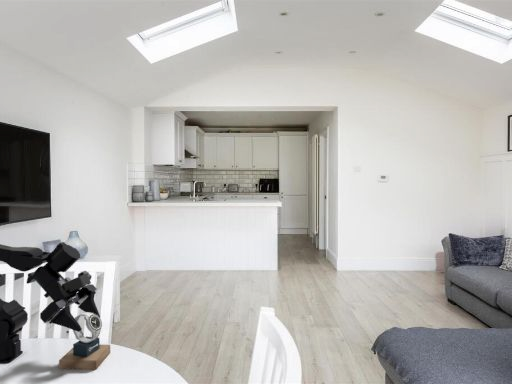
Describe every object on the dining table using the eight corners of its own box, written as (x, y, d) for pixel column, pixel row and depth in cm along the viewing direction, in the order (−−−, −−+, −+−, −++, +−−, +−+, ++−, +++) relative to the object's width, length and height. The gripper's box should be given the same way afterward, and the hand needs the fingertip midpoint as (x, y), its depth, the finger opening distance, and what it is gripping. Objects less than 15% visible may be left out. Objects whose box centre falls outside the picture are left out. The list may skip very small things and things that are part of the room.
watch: (93, 358, 107) (92, 318, 106) (67, 354, 109) (67, 315, 108) (105, 349, 112) (105, 311, 112) (81, 346, 114) (81, 308, 114)
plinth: (59, 369, 106) (59, 360, 106) (76, 352, 116) (76, 344, 116) (96, 369, 106) (96, 360, 106) (110, 352, 116) (110, 344, 116)
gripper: (49, 272, 101) (90, 317, 100) (90, 257, 119) (124, 295, 118) (22, 301, 102) (62, 345, 101) (67, 282, 121) (100, 319, 120)
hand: (90, 324), depth 110 cm, fingers open, 9 cm apart
